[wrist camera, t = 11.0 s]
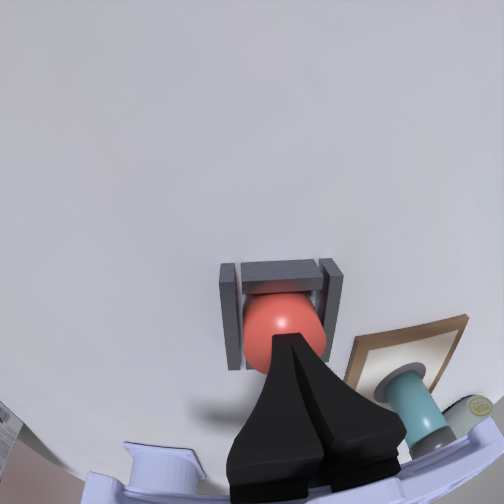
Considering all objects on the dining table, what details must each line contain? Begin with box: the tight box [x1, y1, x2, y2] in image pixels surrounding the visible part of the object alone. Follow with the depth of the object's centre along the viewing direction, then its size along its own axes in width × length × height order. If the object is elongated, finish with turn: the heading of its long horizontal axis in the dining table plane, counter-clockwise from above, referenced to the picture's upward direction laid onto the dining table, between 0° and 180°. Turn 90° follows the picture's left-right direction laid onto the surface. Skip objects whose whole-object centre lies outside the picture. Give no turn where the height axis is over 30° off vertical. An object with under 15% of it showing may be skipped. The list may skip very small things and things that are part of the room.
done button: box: [242, 291, 326, 375], centre depth 14 cm, size 4×4×3 cm
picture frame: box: [343, 314, 469, 411], centre depth 21 cm, size 16×11×1 cm
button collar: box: [219, 258, 344, 370], centre depth 15 cm, size 6×6×2 cm
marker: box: [384, 370, 457, 460], centre depth 16 cm, size 4×4×8 cm
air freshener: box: [443, 395, 494, 439], centre depth 22 cm, size 11×8×10 cm
